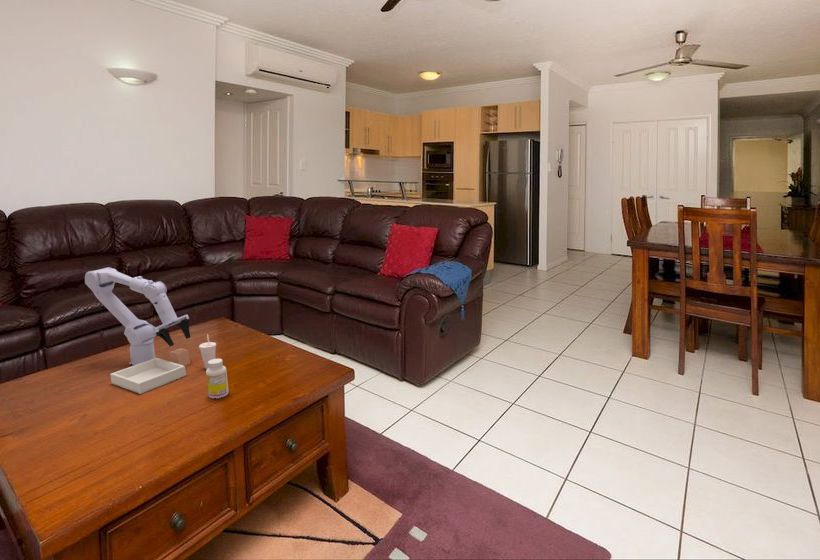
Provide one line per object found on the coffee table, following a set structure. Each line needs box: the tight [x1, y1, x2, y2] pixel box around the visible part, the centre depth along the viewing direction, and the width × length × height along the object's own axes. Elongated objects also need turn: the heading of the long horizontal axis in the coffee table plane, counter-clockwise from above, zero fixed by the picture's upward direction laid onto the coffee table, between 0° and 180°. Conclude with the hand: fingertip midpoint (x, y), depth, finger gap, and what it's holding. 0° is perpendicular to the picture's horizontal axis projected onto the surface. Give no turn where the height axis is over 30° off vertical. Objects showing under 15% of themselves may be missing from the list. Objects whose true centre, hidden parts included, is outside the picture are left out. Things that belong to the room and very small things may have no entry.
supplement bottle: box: [205, 358, 230, 399], centre depth 160 cm, size 7×7×13 cm
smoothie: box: [198, 333, 217, 370], centre depth 184 cm, size 6×6×14 cm
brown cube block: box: [169, 347, 191, 366], centre depth 188 cm, size 5×5×6 cm
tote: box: [110, 357, 187, 395], centre depth 174 cm, size 18×18×4 cm
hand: (180, 341), depth 184 cm, fingers open, 7 cm apart
